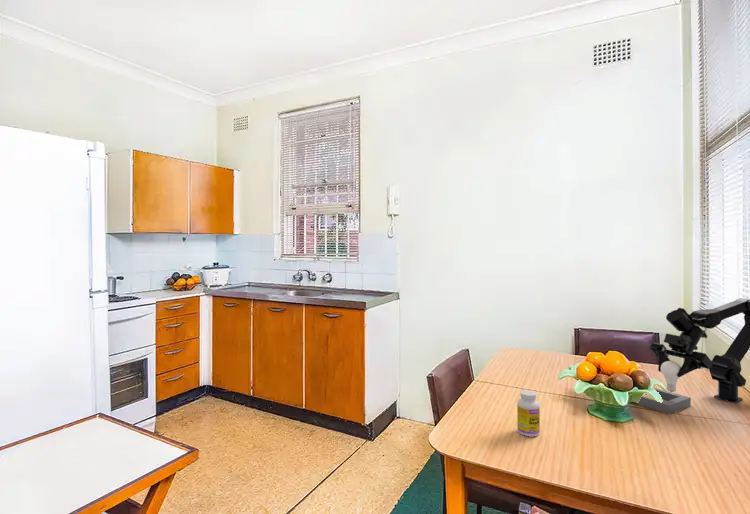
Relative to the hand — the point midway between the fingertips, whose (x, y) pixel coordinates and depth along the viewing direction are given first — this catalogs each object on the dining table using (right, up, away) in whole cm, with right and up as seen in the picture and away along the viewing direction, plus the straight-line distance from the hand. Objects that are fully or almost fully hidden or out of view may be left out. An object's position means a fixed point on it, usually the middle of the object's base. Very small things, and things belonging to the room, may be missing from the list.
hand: (668, 373), depth 147 cm
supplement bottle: (-56, -14, -16) cm, 60 cm away
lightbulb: (+1, -7, +1) cm, 7 cm away
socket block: (+1, -12, +4) cm, 13 cm away
